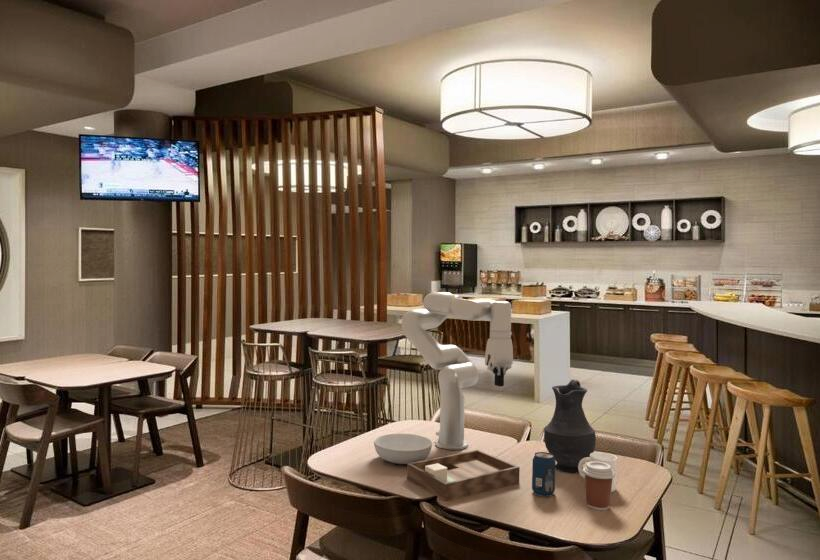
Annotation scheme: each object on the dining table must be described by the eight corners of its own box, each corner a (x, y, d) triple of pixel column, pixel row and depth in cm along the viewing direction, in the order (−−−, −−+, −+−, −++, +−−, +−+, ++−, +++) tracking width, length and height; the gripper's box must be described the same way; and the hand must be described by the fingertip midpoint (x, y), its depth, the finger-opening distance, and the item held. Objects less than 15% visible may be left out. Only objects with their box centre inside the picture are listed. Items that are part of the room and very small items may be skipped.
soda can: (538, 487, 183) (539, 449, 183) (558, 493, 179) (559, 454, 178) (527, 493, 178) (528, 454, 177) (548, 499, 173) (549, 460, 173)
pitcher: (537, 471, 197) (540, 384, 197) (552, 455, 216) (554, 375, 215) (589, 481, 189) (592, 390, 189) (600, 463, 208) (602, 380, 207)
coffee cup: (607, 499, 174) (608, 460, 174) (619, 512, 165) (620, 470, 165) (577, 499, 174) (578, 459, 174) (587, 512, 165) (588, 470, 165)
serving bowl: (408, 474, 192) (408, 454, 192) (361, 461, 205) (362, 442, 205) (443, 459, 209) (443, 440, 208) (397, 447, 221) (398, 429, 221)
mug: (574, 486, 184) (574, 454, 184) (581, 479, 191) (582, 448, 191) (612, 495, 178) (613, 462, 178) (619, 487, 185) (619, 455, 184)
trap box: (477, 463, 204) (477, 449, 204) (519, 482, 187) (519, 467, 187) (406, 478, 188) (407, 463, 188) (445, 501, 170) (445, 484, 170)
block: (424, 478, 182) (425, 465, 182) (437, 475, 185) (437, 463, 184) (434, 483, 178) (434, 470, 178) (447, 480, 180) (447, 467, 180)
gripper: (508, 333, 215) (507, 382, 216) (477, 335, 207) (476, 385, 208) (522, 335, 209) (521, 385, 210) (491, 337, 201) (490, 389, 201)
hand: (499, 385), depth 209 cm, fingers closed
